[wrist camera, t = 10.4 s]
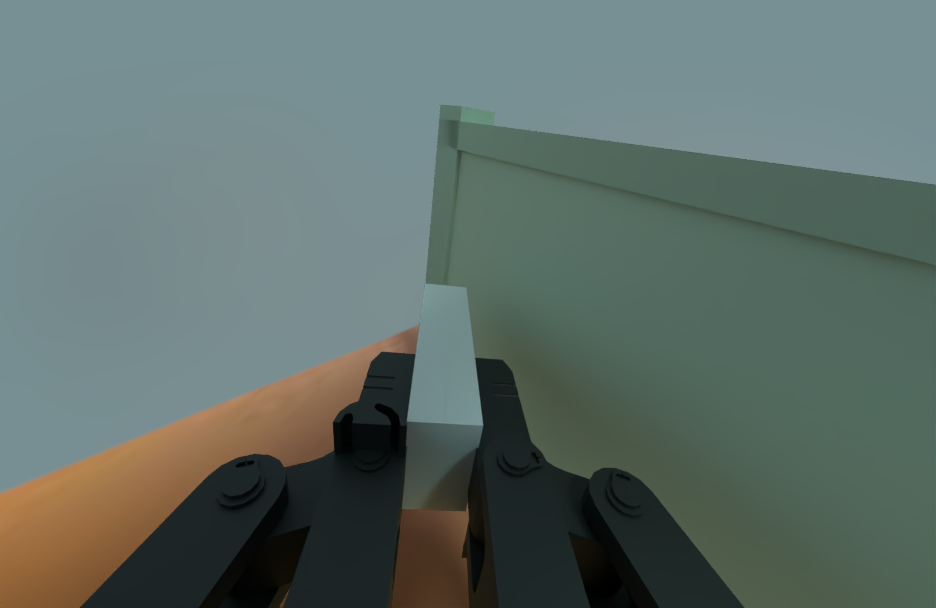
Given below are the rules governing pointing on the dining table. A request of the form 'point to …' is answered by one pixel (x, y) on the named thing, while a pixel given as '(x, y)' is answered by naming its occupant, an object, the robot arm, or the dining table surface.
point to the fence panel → (714, 344)
